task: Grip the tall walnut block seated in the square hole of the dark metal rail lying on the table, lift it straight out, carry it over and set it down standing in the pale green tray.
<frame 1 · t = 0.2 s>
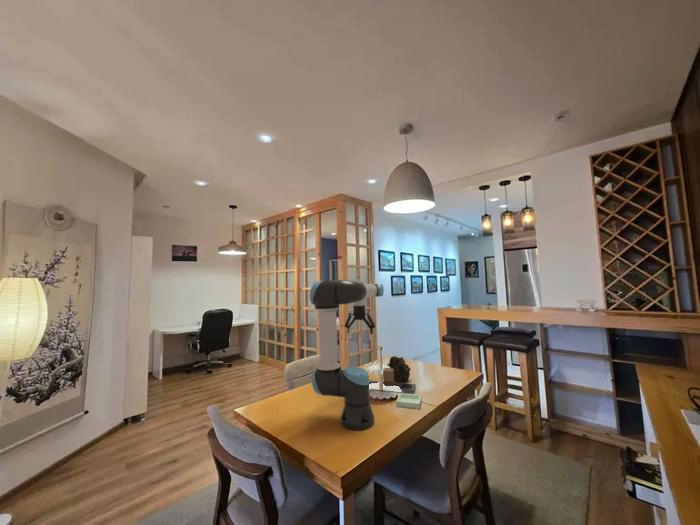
hand: (360, 338, 181), 28 cm above the table, fingers open, 13 cm apart
tray: (409, 403, 147), on the table
block: (388, 379, 169), in the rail
rock: (400, 380, 182), on the table
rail: (389, 388, 169), on the table
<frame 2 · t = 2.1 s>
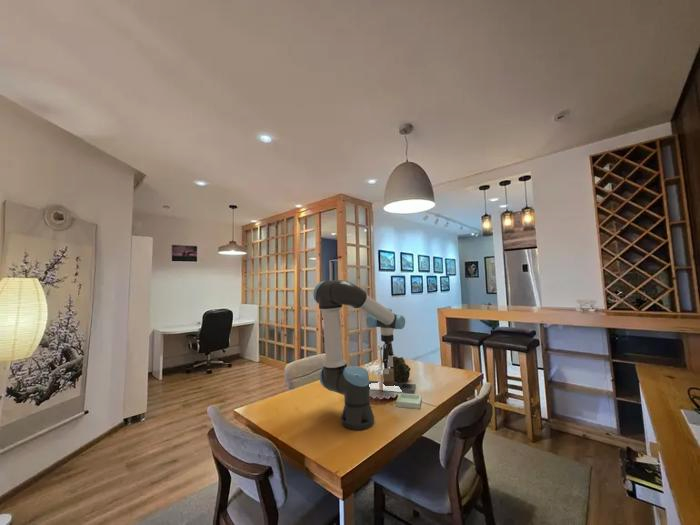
hand: (388, 370, 170), 11 cm above the table, fingers open, 13 cm apart
nothing on the table moved.
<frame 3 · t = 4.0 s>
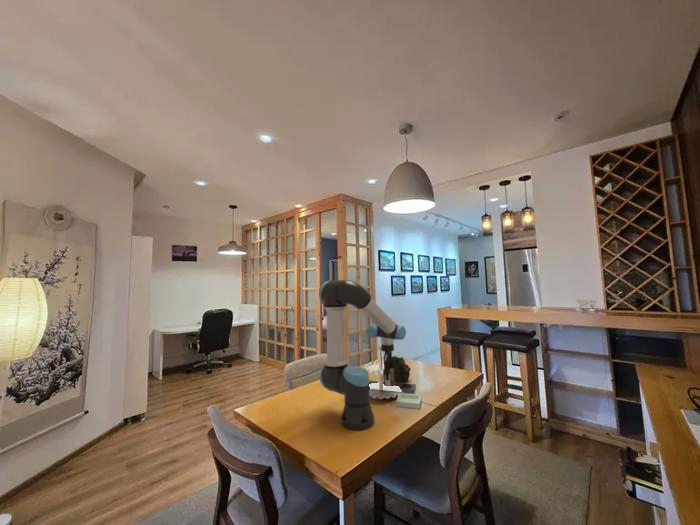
hand: (388, 383, 169), 3 cm above the table, fingers closed on block, 5 cm apart
block: (388, 378, 169), in the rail, touching gripper
everything else where it was.
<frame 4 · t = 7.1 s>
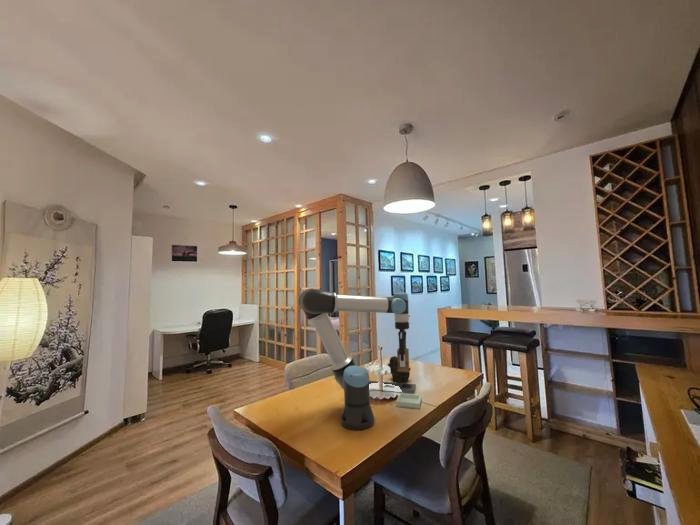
hand: (403, 365, 152), 18 cm above the table, fingers closed on block, 5 cm apart
block: (403, 359, 152), point 21 cm above the table, touching gripper
everything else where it was.
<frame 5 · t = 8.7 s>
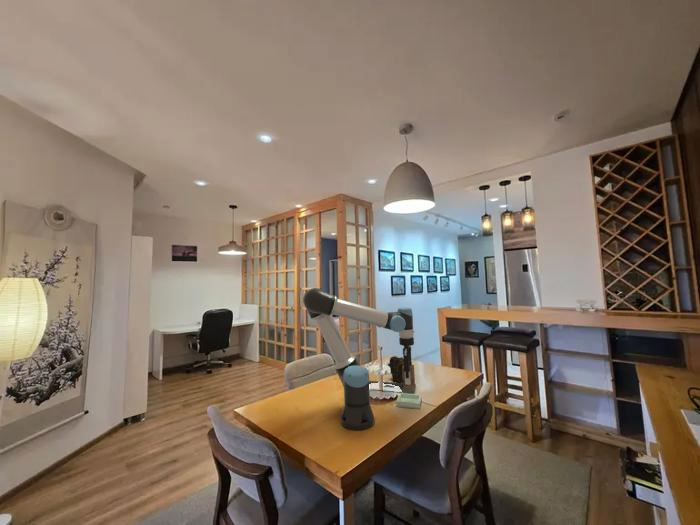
hand: (408, 382, 148), 11 cm above the table, fingers closed on block, 5 cm apart
block: (408, 376, 148), point 13 cm above the table, touching gripper
everything else where it was.
when the fingers open (5 cm above the table, at t = 10.3 s): block drops 1 cm, resting on tray.
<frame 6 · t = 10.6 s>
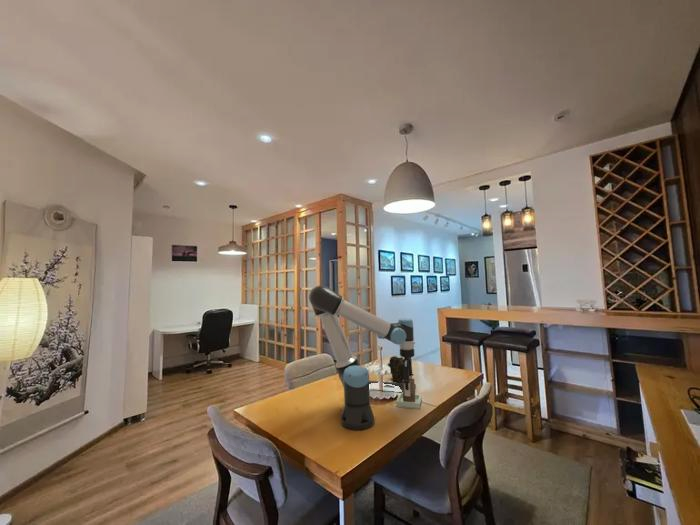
hand: (408, 392, 147), 6 cm above the table, fingers open, 9 cm apart
block: (408, 391, 148), in the tray, point 6 cm above the table
everything else where it was.
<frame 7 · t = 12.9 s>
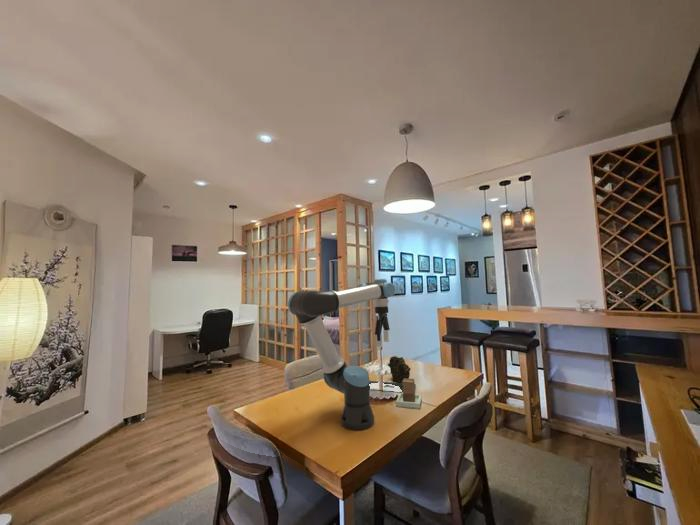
hand: (383, 344, 160), 28 cm above the table, fingers open, 13 cm apart
nothing on the table moved.
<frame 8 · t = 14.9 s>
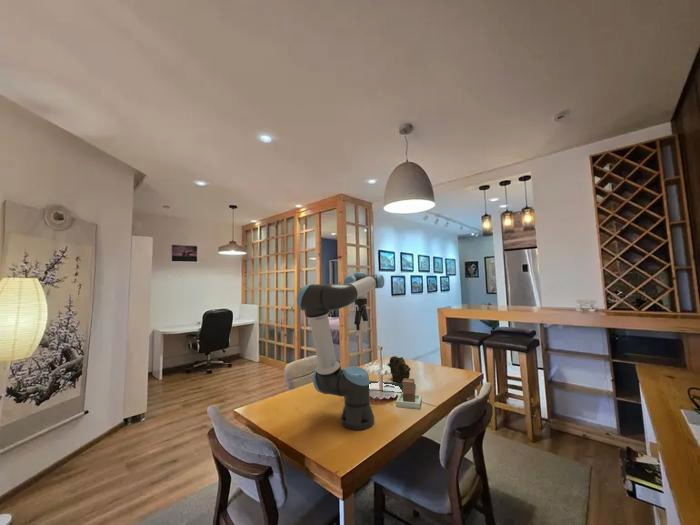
hand: (361, 333, 170), 33 cm above the table, fingers open, 13 cm apart
nothing on the table moved.
at the end: block inside the target area on the tray (0.1 cm from its centre), point 6.1 cm above the tray's base; block tilted 0°; the gripper is holding nothing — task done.
